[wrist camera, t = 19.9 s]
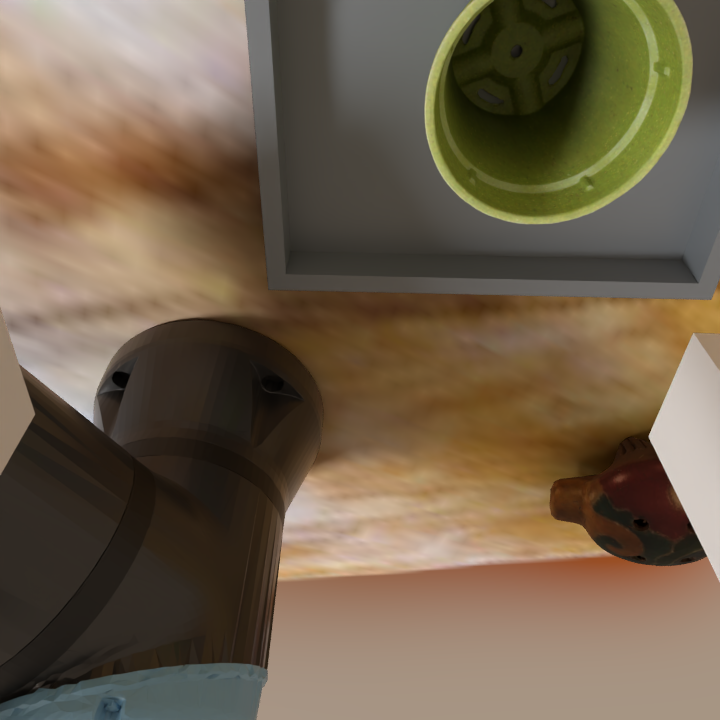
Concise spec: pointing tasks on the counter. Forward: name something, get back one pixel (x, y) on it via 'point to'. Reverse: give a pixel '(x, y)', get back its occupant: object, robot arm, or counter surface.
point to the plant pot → (556, 103)
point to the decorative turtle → (630, 509)
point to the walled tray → (425, 183)
